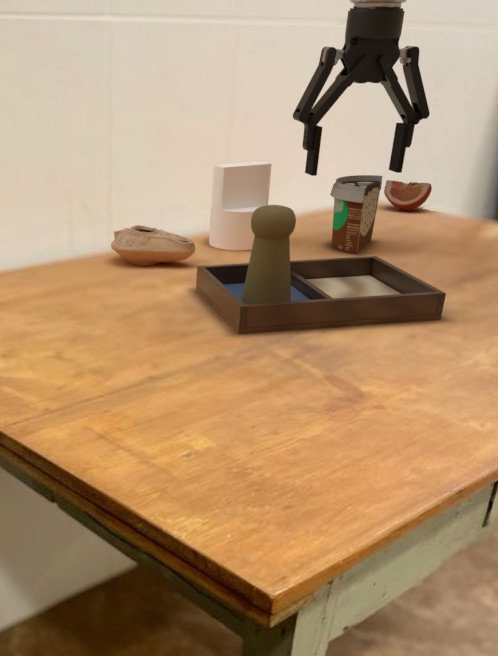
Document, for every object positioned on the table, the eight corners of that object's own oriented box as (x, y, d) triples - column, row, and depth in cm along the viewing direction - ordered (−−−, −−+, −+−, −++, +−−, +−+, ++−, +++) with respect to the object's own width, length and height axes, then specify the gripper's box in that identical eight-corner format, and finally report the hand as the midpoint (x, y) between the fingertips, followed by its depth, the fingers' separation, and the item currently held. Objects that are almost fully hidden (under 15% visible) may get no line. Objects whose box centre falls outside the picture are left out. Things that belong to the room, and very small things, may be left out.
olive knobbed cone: (280, 310, 97) (290, 213, 91) (233, 303, 99) (240, 208, 93) (298, 297, 101) (308, 204, 95) (252, 290, 104) (259, 199, 98)
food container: (335, 237, 134) (343, 172, 129) (372, 241, 131) (383, 175, 126) (313, 254, 124) (322, 184, 119) (354, 258, 122) (364, 187, 117)
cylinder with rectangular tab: (245, 236, 135) (251, 158, 128) (276, 248, 128) (284, 166, 121) (198, 242, 131) (202, 162, 125) (227, 254, 124) (233, 170, 118)
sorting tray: (371, 281, 111) (375, 255, 109) (440, 322, 96) (446, 293, 94) (195, 292, 107) (196, 265, 105) (238, 337, 92) (240, 306, 90)
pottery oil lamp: (183, 273, 114) (161, 229, 110) (119, 289, 122) (96, 248, 118) (208, 239, 118) (188, 195, 114) (145, 256, 126) (123, 215, 122)
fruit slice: (376, 209, 153) (380, 181, 151) (390, 204, 158) (394, 176, 155) (419, 214, 149) (425, 185, 146) (432, 209, 154) (437, 180, 151)
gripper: (446, 6, 116) (417, 166, 127) (280, 5, 112) (266, 171, 123) (475, 5, 110) (442, 174, 121) (301, 5, 106) (283, 179, 117)
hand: (353, 172), depth 122 cm, fingers open, 13 cm apart
